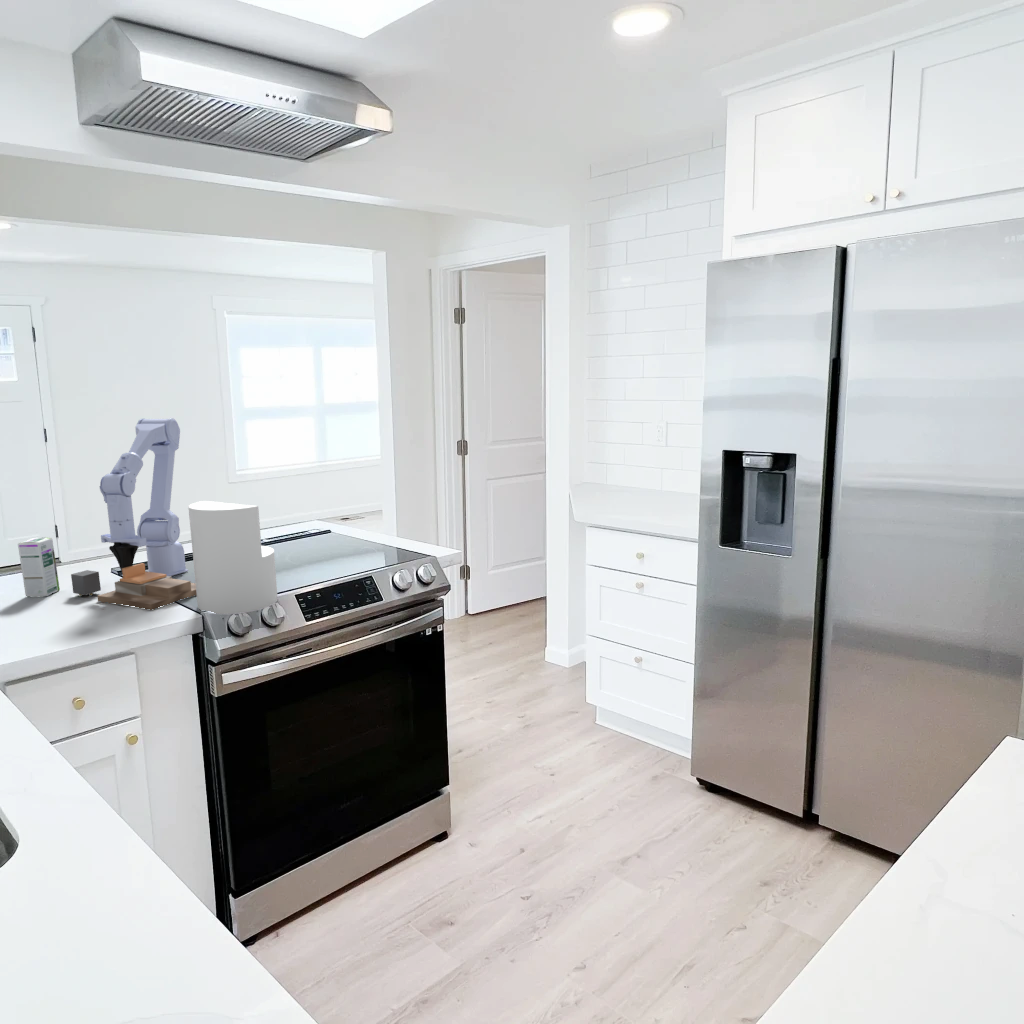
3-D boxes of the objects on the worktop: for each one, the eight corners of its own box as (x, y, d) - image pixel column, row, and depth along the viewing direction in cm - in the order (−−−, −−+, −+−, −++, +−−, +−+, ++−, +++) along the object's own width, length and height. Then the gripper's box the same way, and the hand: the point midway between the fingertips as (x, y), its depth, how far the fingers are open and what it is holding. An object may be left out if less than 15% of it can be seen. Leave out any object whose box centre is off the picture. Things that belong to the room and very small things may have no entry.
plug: (83, 590, 206) (81, 569, 205) (101, 593, 203) (98, 571, 202) (67, 595, 202) (65, 573, 201) (85, 598, 199) (82, 576, 198)
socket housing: (157, 583, 212) (156, 569, 211) (209, 590, 204) (207, 575, 203) (98, 601, 196) (96, 586, 195) (151, 610, 188) (149, 594, 187)
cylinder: (230, 619, 181) (221, 513, 176) (181, 606, 191) (171, 506, 186) (293, 598, 196) (286, 500, 191) (245, 588, 206) (238, 494, 202)
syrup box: (47, 597, 201) (40, 541, 198) (24, 597, 201) (17, 542, 198) (60, 590, 207) (53, 537, 204) (38, 590, 207) (31, 537, 204)
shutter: (146, 573, 206) (145, 562, 205) (166, 576, 203) (165, 564, 202) (119, 581, 199) (118, 569, 198) (140, 584, 196) (139, 572, 195)
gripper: (88, 520, 200) (94, 572, 203) (127, 524, 194) (133, 577, 196) (112, 515, 206) (118, 565, 209) (151, 519, 200) (156, 571, 203)
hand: (126, 571), depth 203 cm, fingers closed
